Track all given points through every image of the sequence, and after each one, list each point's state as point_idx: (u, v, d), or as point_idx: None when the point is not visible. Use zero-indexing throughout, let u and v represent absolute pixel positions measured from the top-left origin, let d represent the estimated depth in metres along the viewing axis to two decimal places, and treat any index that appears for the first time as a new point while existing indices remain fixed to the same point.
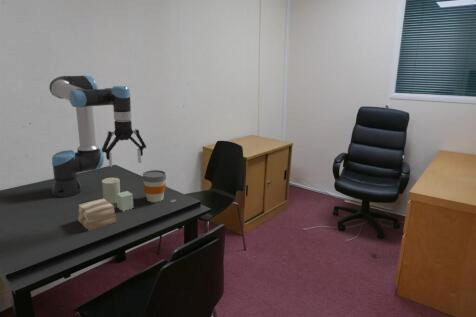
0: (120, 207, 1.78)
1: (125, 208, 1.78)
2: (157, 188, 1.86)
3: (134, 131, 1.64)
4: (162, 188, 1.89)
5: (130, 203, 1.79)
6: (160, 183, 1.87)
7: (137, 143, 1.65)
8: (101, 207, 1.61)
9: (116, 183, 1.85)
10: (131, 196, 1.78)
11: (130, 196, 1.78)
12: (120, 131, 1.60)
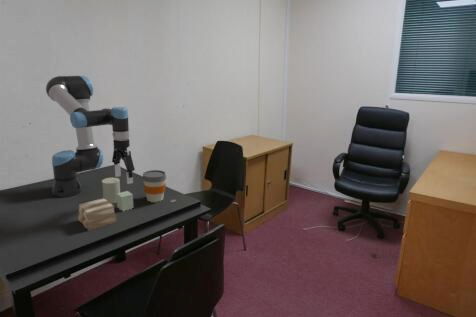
0: (120, 207, 1.78)
1: (125, 208, 1.78)
2: (157, 188, 1.86)
3: None
4: (162, 188, 1.89)
5: (130, 203, 1.79)
6: (160, 183, 1.87)
7: (125, 164, 1.69)
8: (101, 207, 1.61)
9: (116, 183, 1.85)
10: (131, 196, 1.79)
11: (130, 196, 1.78)
12: (118, 148, 1.72)
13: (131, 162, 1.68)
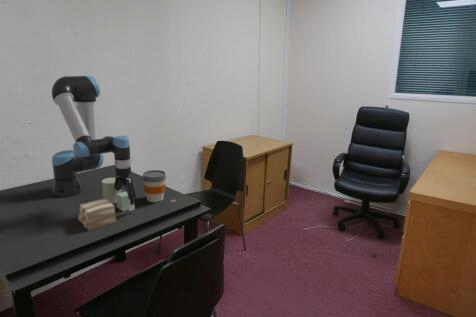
0: (120, 207, 1.78)
1: (125, 208, 1.78)
2: (157, 188, 1.86)
3: None
4: (162, 188, 1.89)
5: None
6: (160, 183, 1.87)
7: (127, 191, 1.73)
8: (101, 207, 1.61)
9: None
10: None
11: None
12: (120, 175, 1.76)
13: (133, 190, 1.72)
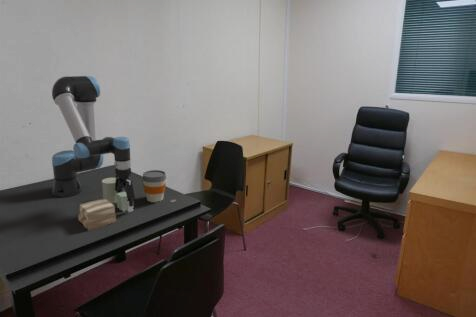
0: (120, 207, 1.78)
1: (125, 208, 1.78)
2: (156, 188, 1.86)
3: (127, 181, 1.73)
4: (162, 188, 1.89)
5: None
6: (160, 183, 1.87)
7: (126, 193, 1.74)
8: (101, 207, 1.61)
9: None
10: None
11: None
12: None
13: (132, 192, 1.73)
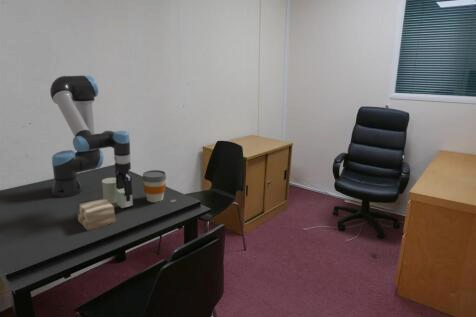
0: (119, 204, 1.78)
1: (124, 205, 1.78)
2: (157, 188, 1.86)
3: (126, 176, 1.72)
4: (162, 188, 1.89)
5: (130, 199, 1.79)
6: (160, 183, 1.87)
7: (124, 188, 1.74)
8: (101, 208, 1.61)
9: None
10: None
11: None
12: None
13: (130, 187, 1.73)
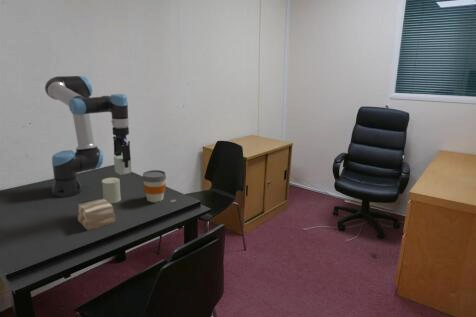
0: (117, 170, 1.73)
1: None
2: (157, 188, 1.86)
3: (124, 141, 1.67)
4: (162, 188, 1.89)
5: None
6: (160, 183, 1.87)
7: (122, 153, 1.69)
8: (100, 207, 1.61)
9: (116, 183, 1.85)
10: None
11: None
12: None
13: (128, 152, 1.68)
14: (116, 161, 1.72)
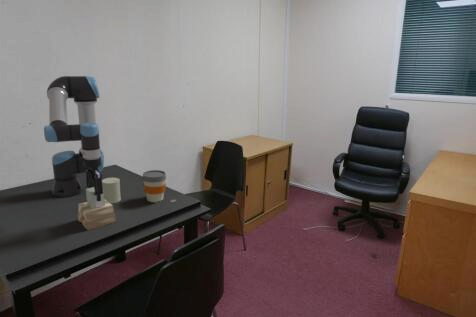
0: (90, 204, 1.60)
1: None
2: (156, 188, 1.86)
3: (96, 173, 1.55)
4: (162, 188, 1.89)
5: None
6: (160, 183, 1.87)
7: (94, 186, 1.57)
8: (100, 207, 1.61)
9: (116, 183, 1.85)
10: None
11: None
12: None
13: (100, 185, 1.56)
14: (88, 194, 1.60)
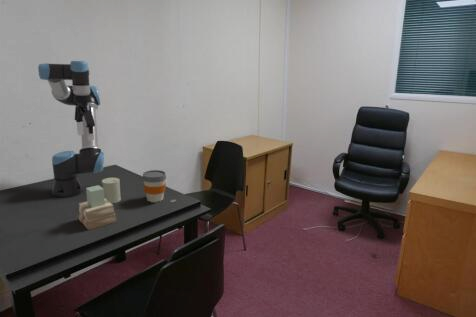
0: (90, 203, 1.61)
1: (95, 204, 1.61)
2: (157, 188, 1.86)
3: None
4: (162, 188, 1.89)
5: (101, 198, 1.62)
6: (160, 183, 1.87)
7: (86, 119, 1.65)
8: (100, 206, 1.62)
9: (116, 183, 1.85)
10: (102, 191, 1.62)
11: (101, 191, 1.61)
12: (79, 104, 1.68)
13: (91, 117, 1.64)
14: (88, 193, 1.61)
